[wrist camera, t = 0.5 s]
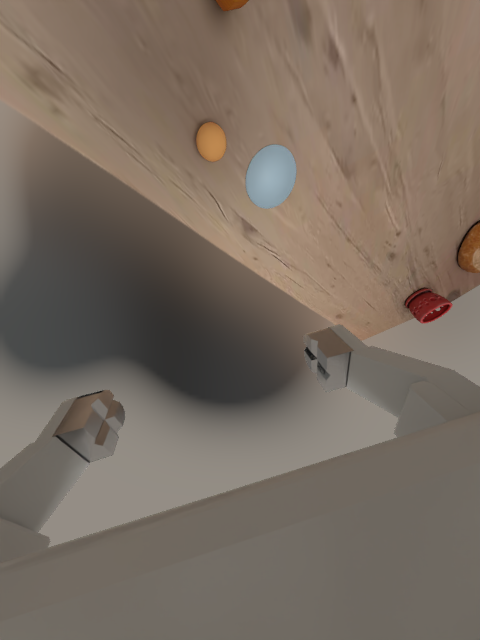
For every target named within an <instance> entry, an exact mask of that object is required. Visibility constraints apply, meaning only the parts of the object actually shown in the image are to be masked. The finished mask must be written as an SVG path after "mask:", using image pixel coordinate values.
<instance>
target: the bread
mask: <svg viewBox="0 0 480 640" xmlns="http://www.w3.org/2000/svg"><path fill="white" fill-rule="evenodd" d="M458 264H459V265H460V267H461V268H462V269H464V270H465V271H467V272H472V273H479V272H480V222H479V223H478V224H476V225H475V226H474V227H472V229H471V230H470V231H469V232H468V234H467V236H466V237H465V239H464V241H463V243H462V246H461V248H460V251H459V254H458Z"/></svg>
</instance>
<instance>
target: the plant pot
mask: <svg viewBox="0 0 480 640" xmlns="http://www.w3.org/2000/svg"><path fill="white" fill-rule="evenodd" d="M405 306H406V307H407V308H409V309H410V311H411V313H412V314H413V316H414V317H415V318H416V319H417V320H418V321H420V322H421V323H428V322H431V321H434V320H435V319H438V318H439V317H441V316H442V315H444V314H445V313H446V312H447V311H449V310H450V308H451V307H452V303H451V302H449V301H448V300H447V299H445V298H444V297H442V296H440V295H438V294H435V293H432V290H431V289H421V290H419V291H417V292H415V293H414V294H412V295H411V296H410V297H409V298H408V299H407V301H406V303H405ZM442 306H443V307H442ZM438 307H440V308H441V310H440V311H436V310H435V309H436V308H438ZM430 312H433V313H432V314H431V313H430ZM426 315H427V316H426Z"/></svg>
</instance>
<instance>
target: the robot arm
mask: <svg viewBox="0 0 480 640" xmlns="http://www.w3.org/2000/svg"><path fill="white" fill-rule="evenodd" d="M304 343H305V344H306V346H307V347H306V349H305V350H304V354H305V359H306V362H307V365H308V367H309V368H310V370H311V371H312V372H314V373H316V374H317V380H318V382H319V383H320V384H321V386H322V387H323V389H324V390H325V392H329V391H332V390H336V389H340V388H344V387H347V388H348V389H350V390H351V391H353V392H355V393H356V394H358V395H360V396H362V397H363V398H365V399H367V400H368V401H370V402H372V403H374V404H375V405H377V406H379V407H381V408H383V409H384V410H386V411H388V412H389V413H391V414H393V415H394V416H396V417H398V422H397V424H396V427H395V430H394V434H395V435H396V436H397V437H398V438H394V439H391V440H388V441H385V442H382V443H379V444H375V445H373V446H369V447H366V448H363V449H360V450H357V451H354V452H350V453H347V454H344V455H341V456H337V457H334V458H331V459H328V460H325V461H321V462H319V463H315V464H312V465H309V466H306V467H302V468H299V469H296V470H293V471H290V472H287V473H283V474H281V475H277V476H274V477H271V478H268V479H264V480H261V481H259V482H255V483H252V484H249V485H245V486H243V487H239V488H236V489H233V490H230V491H226V492H223V493H220V494H217V495H214V496H211V497H207V498H204V499H201V500H198V501H195V502H192V503H188V504H185V505H182V506H179V507H176V508H172V509H169V510H166V511H163V512H160V513H157V514H153V515H150V516H147V517H144V518H141V519H138V520H135V521H131V522H128V523H125V524H122V525H119V526H115V527H112V528H109V529H106V530H103V531H99V532H97V533H93V534H90V535H87V536H84V537H80V538H77V539H74V540H71V541H68V542H65V543H62V544H58V545H55V546H52V547H49V548H48V545H49V543H50V539H49V537H47V536H45V535H42V534H40V533H38V532H39V530H40V529H41V528H42V527H43V525H44V524H45V523H46V521H47V520H48V519H49V517H50V516H51V515H52V513H53V512H54V511H55V509H56V508H57V507H58V505H59V504H60V503H61V501H62V500H63V499H64V497H65V496H66V495H67V493H68V492H69V491H70V489H71V488H72V487H73V485H74V484H75V483H76V481H77V480H78V479H79V478H80V476H81V475H82V474H83V472H84V471H85V470H86V468H87V467H88V465H89V463H90V462H93V461H96V460H99V459H102V458H106V457H109V456H112V455H113V453H114V450H115V447H116V444H117V441H118V438H119V437H118V434H117V432H118V431H119V430H120V428H121V427H122V426H123V423H124V420H125V411H124V408H123V406H122V405H121V403H120V402H117V401H115V400H113V398H114V395H113V394H112V392H111V391H110V390H102V391H98V392H94V393H91V394H86V395H82V396H79V397H75V398H72V399H67V400H66V401H64V402H62V403H61V405H60V407H59V408H58V409H57V411H56V412H55V414H54V415H53V416H52V418H51V420H50V421H49V422H48V424H47V425H46V427H45V428H44V430H43V431H42V433H41V434H40V435H39V437H38V438H37V440H36V441H35V442H34V443H31V444H29V445H28V446H27V447H26V448H24V449H23V450H22V451H21V452H20V453H18V454H17V455H16V456H15V457H14V458H12V459H11V460H10V461H9V462H8V463H6V464H5V465H4V466H3V467H2V468H0V640H480V387H479V386H478V385H476V384H475V383H473V382H471V381H470V380H468V379H467V378H465V377H464V376H462V375H460V374H459V373H458V372H456V371H454V370H451V369H448V368H444V367H441V366H438V365H435V364H431V363H428V362H424V361H421V360H418V359H414V358H411V357H407V356H404V355H401V354H397V353H394V352H391V351H387V350H384V349H381V348H377V347H374V346H370V347H368V346H366V345H365V344H364V343H363V342H362V341H360V340H359V339H358V338H357V337H356V336H354V335H353V334H352V333H351V332H350V331H348V330H347V329H346V328H345V327H344V326H342V325H335V326H332V327H328V328H326V329H323V330H319V331H316V332H312V333H308V334H305V336H304Z"/></svg>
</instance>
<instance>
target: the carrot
mask: <svg viewBox="0 0 480 640" xmlns="http://www.w3.org/2000/svg"><path fill="white" fill-rule="evenodd" d="M248 1H249V0H216V2H217V3H218V4H219V6H220V7H221V8H222V10H223V11H229V10H233V9H238V8H241V7H242V6H243V5H245V4H246V3H247V2H248Z"/></svg>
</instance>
